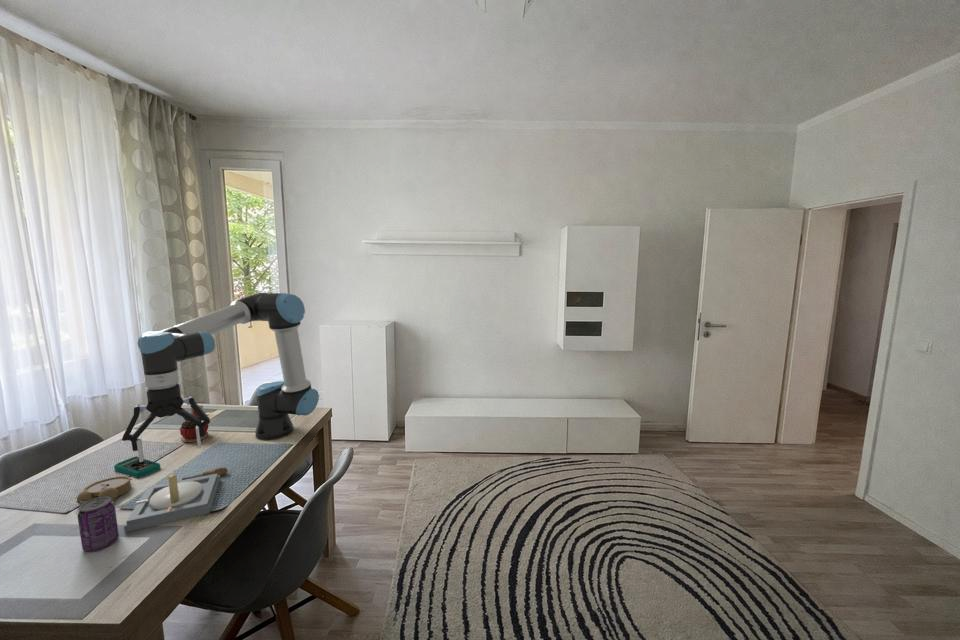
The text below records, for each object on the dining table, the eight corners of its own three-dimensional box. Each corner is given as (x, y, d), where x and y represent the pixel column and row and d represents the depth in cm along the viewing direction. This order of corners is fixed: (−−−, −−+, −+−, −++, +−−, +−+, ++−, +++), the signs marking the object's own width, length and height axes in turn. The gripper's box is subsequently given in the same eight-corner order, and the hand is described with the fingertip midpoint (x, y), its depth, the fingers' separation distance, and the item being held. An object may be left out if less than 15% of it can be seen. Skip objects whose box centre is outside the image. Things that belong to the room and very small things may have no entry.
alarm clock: (138, 473, 134) (110, 490, 119) (138, 488, 133) (111, 506, 119) (98, 478, 130) (65, 496, 116) (98, 493, 130) (65, 512, 116)
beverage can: (99, 535, 107) (93, 496, 106) (126, 534, 108) (120, 495, 106) (74, 554, 100) (68, 512, 99) (103, 552, 101) (97, 511, 99)
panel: (220, 480, 135) (219, 471, 135) (209, 513, 117) (208, 503, 117) (147, 494, 126) (146, 485, 126) (124, 532, 108) (123, 521, 108)
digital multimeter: (138, 479, 136) (138, 472, 135) (113, 471, 141) (112, 463, 140) (162, 469, 142) (161, 462, 142) (137, 462, 148) (136, 454, 147)
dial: (152, 493, 123) (149, 464, 122) (202, 481, 130) (199, 453, 129) (147, 515, 112) (143, 484, 111) (201, 500, 120) (198, 470, 118)
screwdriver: (228, 472, 140) (227, 465, 140) (227, 475, 138) (226, 468, 138) (183, 480, 135) (182, 473, 134) (181, 484, 132) (180, 477, 132)
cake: (175, 441, 164) (171, 401, 162) (198, 432, 173) (194, 394, 170) (192, 445, 160) (187, 404, 158) (214, 436, 169) (210, 397, 166)
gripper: (101, 398, 101) (112, 471, 105) (215, 381, 116) (222, 446, 119) (106, 390, 107) (117, 460, 111) (214, 375, 122) (220, 437, 125)
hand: (171, 453), depth 115 cm, fingers open, 13 cm apart
